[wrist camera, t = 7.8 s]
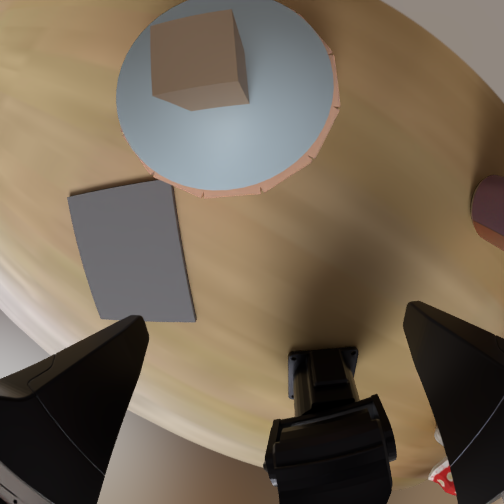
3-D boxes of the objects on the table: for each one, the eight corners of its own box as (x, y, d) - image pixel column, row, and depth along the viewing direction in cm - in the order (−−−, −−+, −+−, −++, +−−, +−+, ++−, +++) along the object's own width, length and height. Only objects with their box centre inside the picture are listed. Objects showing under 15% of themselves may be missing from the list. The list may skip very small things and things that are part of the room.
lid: (335, 181, 14) (375, 203, 8) (136, 197, 15) (74, 227, 9) (314, -3, 10) (334, -62, 5) (125, 26, 11) (69, -10, 6)
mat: (196, 319, 24) (195, 322, 23) (102, 316, 25) (100, 318, 24) (171, 177, 20) (170, 178, 19) (70, 196, 20) (67, 197, 20)
